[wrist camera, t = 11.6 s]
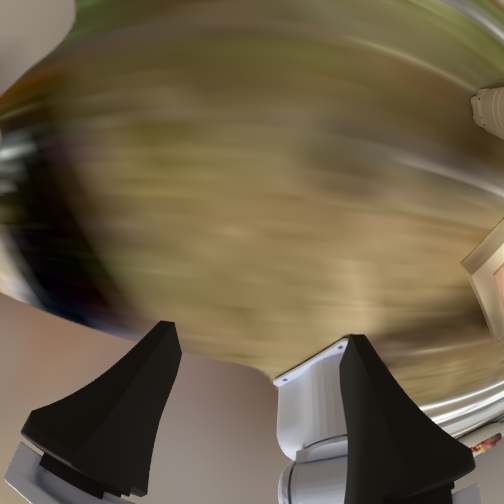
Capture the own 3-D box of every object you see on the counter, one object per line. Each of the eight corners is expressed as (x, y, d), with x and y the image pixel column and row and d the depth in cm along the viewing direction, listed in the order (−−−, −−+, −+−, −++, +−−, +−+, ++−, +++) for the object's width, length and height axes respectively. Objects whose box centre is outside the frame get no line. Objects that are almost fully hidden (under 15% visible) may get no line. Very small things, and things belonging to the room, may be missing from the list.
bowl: (461, 453, 51) (465, 470, 44) (397, 472, 52) (399, 492, 45) (517, 408, 36) (525, 427, 29) (457, 431, 37) (463, 457, 30)
